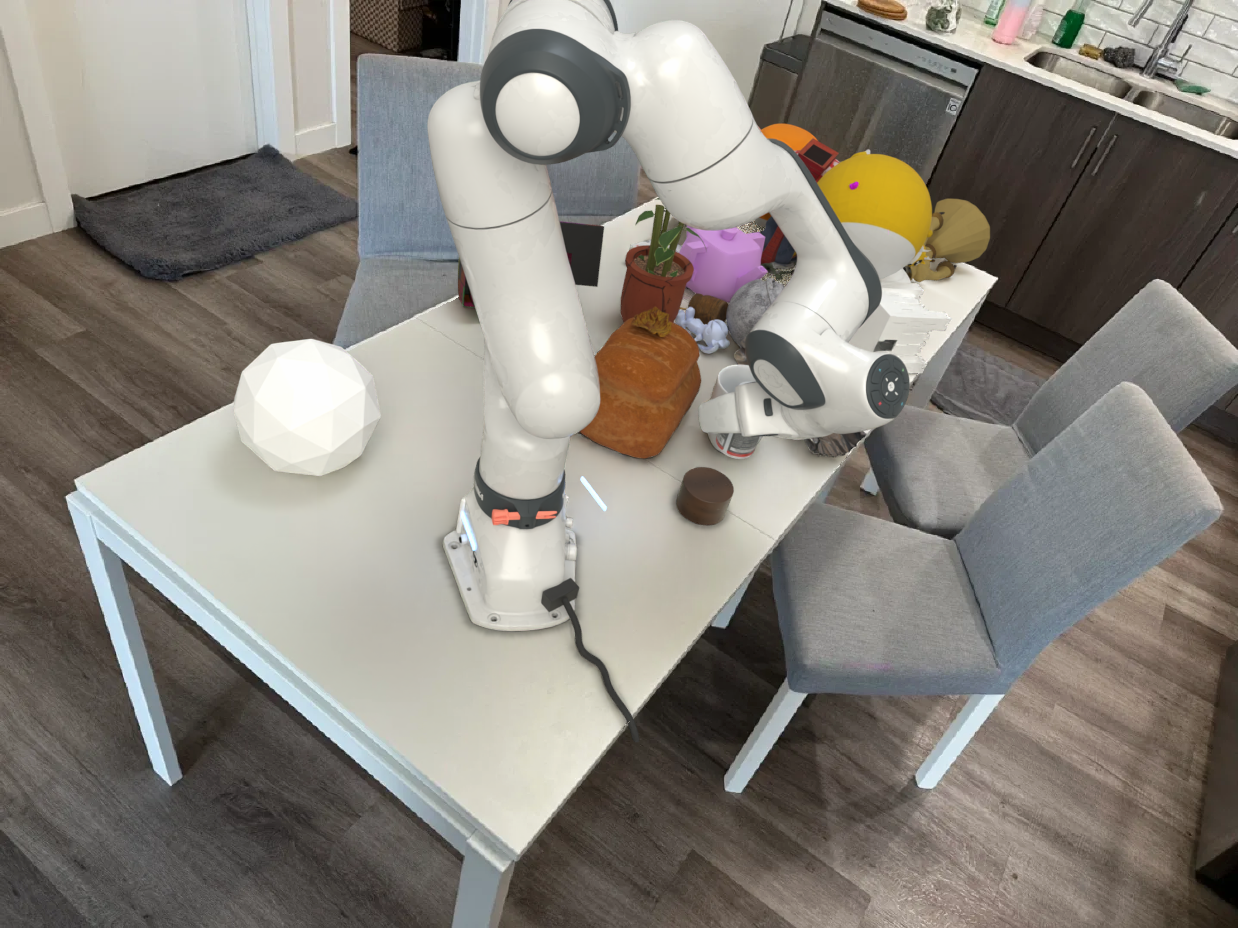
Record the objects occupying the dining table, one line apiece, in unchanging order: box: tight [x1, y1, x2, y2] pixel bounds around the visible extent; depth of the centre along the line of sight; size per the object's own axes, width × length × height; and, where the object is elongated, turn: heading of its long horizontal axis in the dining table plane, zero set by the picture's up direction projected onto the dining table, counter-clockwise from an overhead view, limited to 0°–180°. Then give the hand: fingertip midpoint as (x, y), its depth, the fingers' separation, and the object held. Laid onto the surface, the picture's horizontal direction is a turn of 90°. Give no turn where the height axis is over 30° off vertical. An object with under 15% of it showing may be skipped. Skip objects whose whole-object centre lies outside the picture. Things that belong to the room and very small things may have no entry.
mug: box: [707, 364, 764, 454], centre depth 144 cm, size 15×11×13 cm
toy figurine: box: [674, 307, 731, 355], centre depth 168 cm, size 7×6×12 cm
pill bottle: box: [716, 382, 760, 460], centre depth 118 cm, size 6×6×10 cm
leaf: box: [631, 306, 672, 337], centre depth 138 cm, size 6×7×2 cm
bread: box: [578, 317, 702, 460], centre depth 141 cm, size 18×22×17 cm
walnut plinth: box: [675, 466, 735, 527], centre depth 132 cm, size 8×8×5 cm
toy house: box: [758, 138, 841, 268], centre depth 193 cm, size 22×22×30 cm
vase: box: [753, 123, 819, 228], centre depth 209 cm, size 17×17×25 cm
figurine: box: [903, 198, 991, 283], centre depth 209 cm, size 17×13×30 cm
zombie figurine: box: [761, 262, 797, 281], centre depth 193 cm, size 5×7×15 cm
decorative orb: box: [725, 277, 785, 348], centre depth 167 cm, size 15×14×15 cm
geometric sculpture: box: [232, 338, 382, 477], centre depth 120 cm, size 19×20×20 cm
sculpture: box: [733, 336, 867, 458], centre depth 153 cm, size 12×12×28 cm
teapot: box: [679, 225, 768, 304], centre depth 181 cm, size 19×18×15 cm
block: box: [457, 220, 605, 309], centre depth 164 cm, size 25×17×14 cm
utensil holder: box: [679, 289, 729, 325], centre depth 175 cm, size 6×6×12 cm
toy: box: [817, 149, 933, 279], centre depth 174 cm, size 26×26×30 cm
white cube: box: [849, 281, 953, 374], centre depth 175 cm, size 14×14×15 cm
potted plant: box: [619, 197, 707, 323], centre depth 157 cm, size 17×16×35 cm
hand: (742, 415), depth 118 cm, fingers closed on pill bottle, 6 cm apart
